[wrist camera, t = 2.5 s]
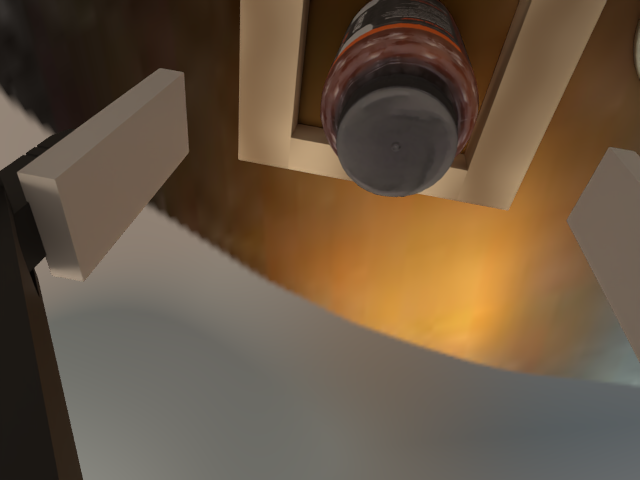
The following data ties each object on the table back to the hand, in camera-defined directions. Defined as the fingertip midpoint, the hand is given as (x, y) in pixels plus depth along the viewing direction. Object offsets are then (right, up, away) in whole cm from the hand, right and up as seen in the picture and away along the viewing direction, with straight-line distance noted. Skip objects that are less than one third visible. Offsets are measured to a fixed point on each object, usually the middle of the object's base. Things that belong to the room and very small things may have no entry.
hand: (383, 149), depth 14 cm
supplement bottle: (+2, +7, +9) cm, 12 cm away
